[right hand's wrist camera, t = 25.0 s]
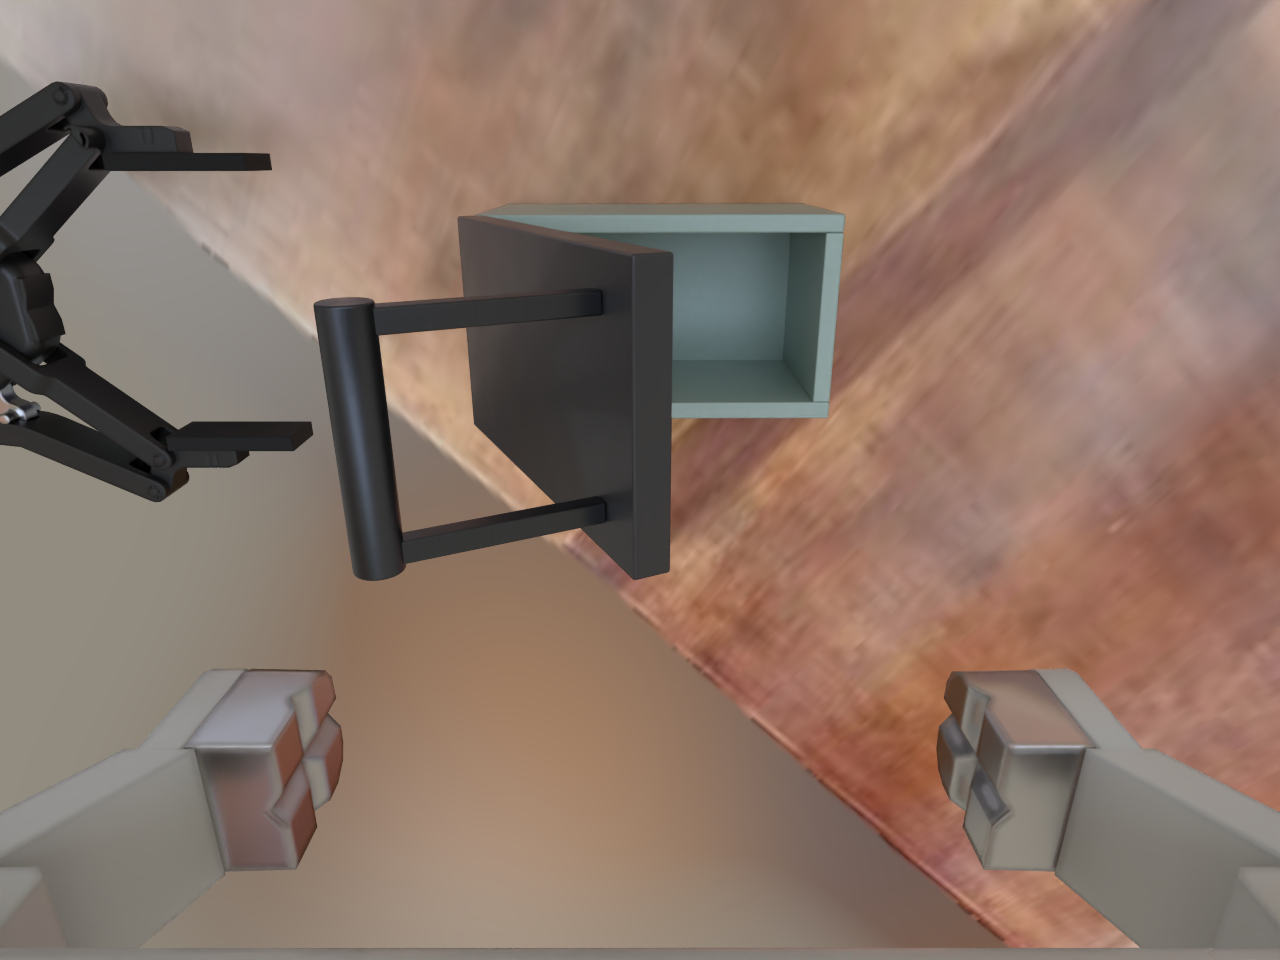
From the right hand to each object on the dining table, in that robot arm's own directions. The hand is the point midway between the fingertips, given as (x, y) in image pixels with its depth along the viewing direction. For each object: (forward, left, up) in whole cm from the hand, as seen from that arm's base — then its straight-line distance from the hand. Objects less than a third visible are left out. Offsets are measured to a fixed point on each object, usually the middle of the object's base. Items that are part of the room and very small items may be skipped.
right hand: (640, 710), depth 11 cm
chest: (-1, -1, -38) cm, 38 cm away
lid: (+2, +2, -21) cm, 21 cm away
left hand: (+13, +12, -32) cm, 37 cm away
